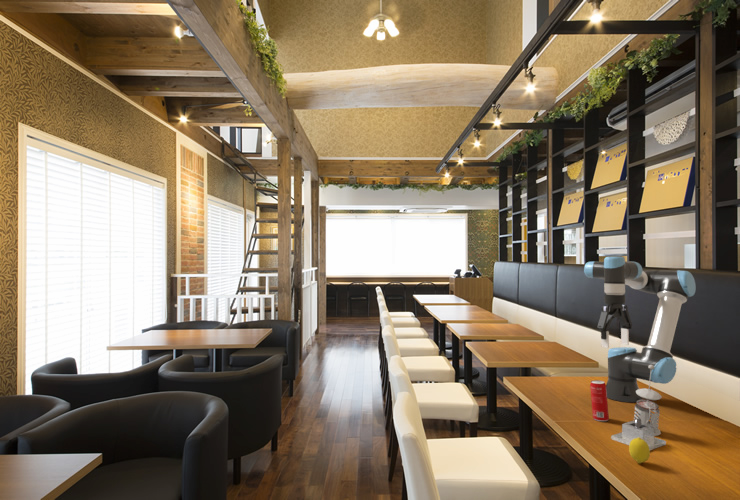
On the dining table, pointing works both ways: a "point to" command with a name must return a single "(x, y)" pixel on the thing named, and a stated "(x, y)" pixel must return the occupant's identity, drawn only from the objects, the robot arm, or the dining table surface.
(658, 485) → the dining table surface
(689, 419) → the dining table surface
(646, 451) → the lemon
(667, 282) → the robot arm
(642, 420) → the french press
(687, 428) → the dining table surface
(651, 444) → the toggle switch
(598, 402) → the beverage can
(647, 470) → the dining table surface
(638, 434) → the white square hollow block
